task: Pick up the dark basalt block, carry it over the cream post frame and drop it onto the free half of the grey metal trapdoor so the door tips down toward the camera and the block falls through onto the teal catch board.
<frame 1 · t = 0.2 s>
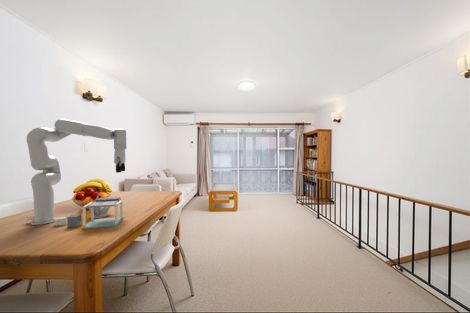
hand: (120, 171, 141), 31 cm above the table, fingers open, 9 cm apart
crystal: (100, 215, 143), on the table
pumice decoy: (61, 224, 126), on the table
trapdoor: (105, 203, 130), point 12 cm above the table, hinge at 0.0°
frame: (107, 220, 133), on the table
basalt stone: (74, 225, 124), on the table
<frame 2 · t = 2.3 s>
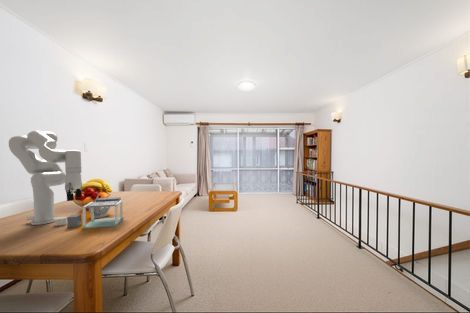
hand: (74, 198, 123), 16 cm above the table, fingers open, 9 cm apart
nothing on the table moved.
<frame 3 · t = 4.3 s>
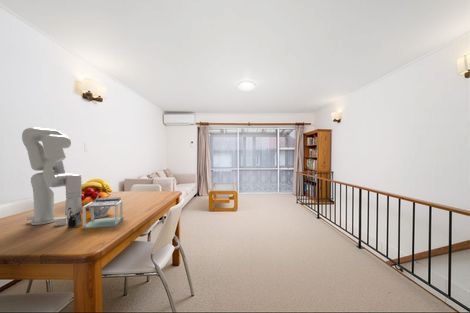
hand: (74, 224, 123), 1 cm above the table, fingers closed on basalt stone, 5 cm apart
basalt stone: (74, 225, 124), on the table, touching gripper
everything else where it was.
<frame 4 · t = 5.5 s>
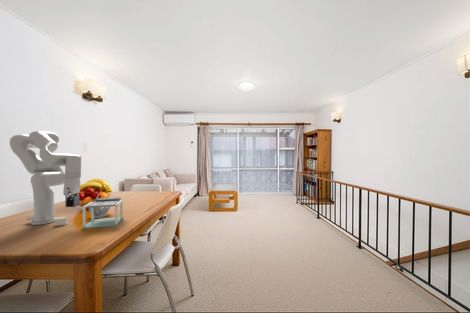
hand: (72, 204, 124), 13 cm above the table, fingers closed on basalt stone, 5 cm apart
basalt stone: (72, 205, 124), point 12 cm above the table, touching gripper
everything else where it was.
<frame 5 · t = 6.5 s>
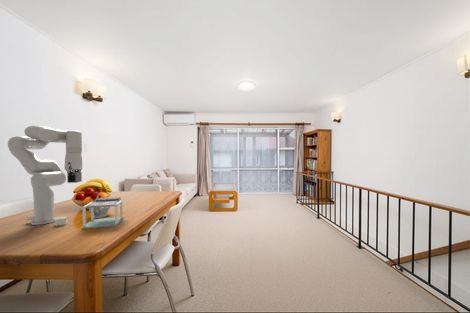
hand: (74, 180, 123), 27 cm above the table, fingers closed on basalt stone, 5 cm apart
basalt stone: (74, 182, 123), point 26 cm above the table, touching gripper
everything else where it was.
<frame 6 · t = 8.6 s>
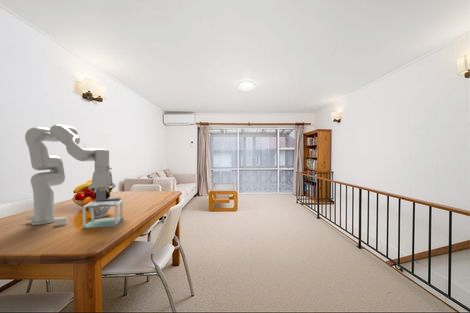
hand: (102, 198, 125), 16 cm above the table, fingers closed on basalt stone, 5 cm apart
basalt stone: (102, 199, 125), point 15 cm above the table, touching gripper
everything else where it was.
when the fingers open (15 cm above the table, at t = 9.0 s): basalt stone drops 12 cm and tips over, point 2 cm above the table.
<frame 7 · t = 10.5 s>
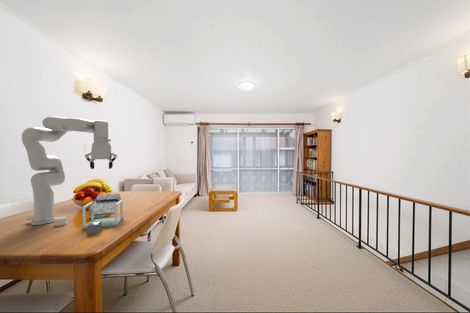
hand: (101, 168, 125), 34 cm above the table, fingers open, 9 cm apart
trapdoor: (106, 205, 131), point 10 cm above the table, hinge at -28.2°
basalt stone: (92, 229, 111), point 2 cm above the table, tilted 90°
everything else where it was.
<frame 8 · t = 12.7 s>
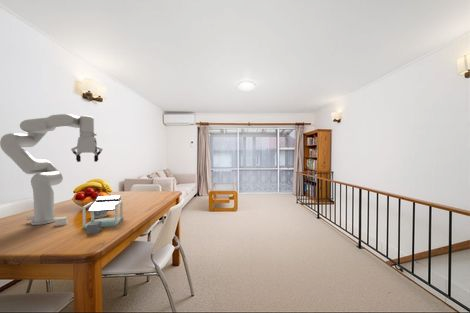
hand: (87, 161, 132), 38 cm above the table, fingers open, 9 cm apart
trapdoor: (105, 204, 130), point 11 cm above the table, hinge at -14.9°
everything else where it was.
at the end: basalt stone point 2.4 cm above the table; basalt stone inside the target area (13.6 cm from its centre), point 2.4 cm above the table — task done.
